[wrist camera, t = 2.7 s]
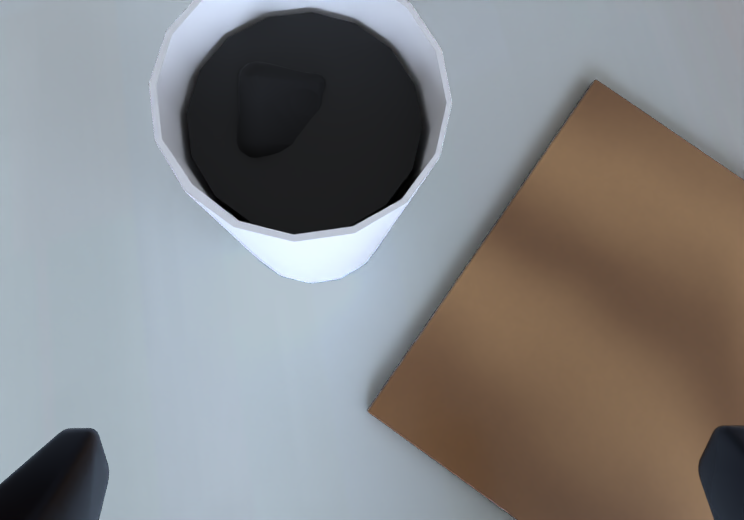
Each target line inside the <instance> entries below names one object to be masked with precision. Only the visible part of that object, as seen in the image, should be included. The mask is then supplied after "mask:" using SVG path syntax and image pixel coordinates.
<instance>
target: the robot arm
mask: <svg viewBox="0 0 744 520" xmlns="http://www.w3.org/2000/svg"><path fill="white" fill-rule="evenodd" d="M698 473H699V478H700V481H701V484H702V487H703V490H704V493H705V495H706V498H707V501H708V504H709V507H710V510H711V513H712V516H713V518H714V520H744V425H721V426H718V427H717V428H715V429H714V431H713V432H712V435H711V437H710V439H709V441H708V443H707V445H706V447H705V449H704V451H703V453H702V455H701V458H700V460H699V464H698ZM108 479H109V467H108V463H107V460H106V456H105V453H104V450H103V447H102V443H101V440H100V437H99V434H98V432H97V431H96V430H94V429H91V428H70V429H65V430H63V431H62V432H60V433H59V434H58V435H57V436H55V437H54V438H53V439H52V440H51V441H50V442H48V443H47V444H46V445H45V446H44V447H43V448H41V449H40V450H39V451H38V452H37V453H36V454H35V455H33V456H32V457H31V458H30V459H29V460H28V461H26V462H25V463H24V464H23V465H22V466H21V467H19V468H18V469H17V470H16V471H15V472H14V473H13V474H11V475H10V476H9V477H8V478H7V479H6V480H4V481H3V482H2V483H1V484H0V520H99V517H100V513H101V509H102V505H103V501H104V497H105V493H106V489H107V485H108Z"/></svg>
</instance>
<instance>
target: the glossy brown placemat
mask: <svg viewBox="0 0 744 520" xmlns="http://www.w3.org/2000/svg"><path fill="white" fill-rule="evenodd" d="M367 411H368V412H369V413H370V414H371V415H373V416H374V417H376V418H377V419H378V420H380V421H381V422H382V423H384V424H385V425H387V426H388V427H389V428H391V429H392V430H393V431H395V432H396V433H398V434H399V435H400V436H402V437H403V438H405V439H406V440H407V441H409V442H410V443H411V444H413V445H414V446H416V447H417V448H418V449H420V450H421V451H422V452H424V453H425V454H427V455H428V456H429V457H431V458H432V459H434V460H435V461H436V462H438V463H439V464H440V465H442V466H443V467H445V468H446V469H447V470H449V471H450V472H451V473H453V474H454V475H456V476H457V477H458V478H460V479H461V480H462V481H464V482H465V483H467V484H468V485H469V486H471V487H472V488H474V489H475V490H476V491H478V492H479V493H480V494H482V495H483V496H485V497H486V498H487V499H489V500H490V501H491V502H493V503H494V504H496V505H497V506H498V507H500V508H501V509H503V510H504V511H505V512H507V513H508V514H509V515H511V516H512V517H514V518H515V519H516V520H714V518H713V516H712V513H711V510H710V507H709V504H708V501H707V498H706V495H705V493H704V490H703V487H702V484H701V481H700V478H699V473H698V464H699V460H700V458H701V455H702V453H703V451H704V449H705V447H706V445H707V443H708V441H709V439H710V437H711V435H712V432H713V431H714V429H715V428H717V427H718V426H721V425H744V180H743V179H742V178H740V177H739V176H737V175H736V174H734V173H733V172H731V171H730V170H728V169H727V168H725V167H724V166H723V165H721V164H720V163H718V162H717V161H715V160H714V159H712V158H711V157H709V156H708V155H706V154H705V153H703V152H702V151H701V150H699V149H698V148H696V147H695V146H693V145H692V144H690V143H689V142H687V141H686V140H684V139H683V138H681V137H680V136H679V135H677V134H676V133H674V132H673V131H671V130H670V129H668V128H667V127H665V126H664V125H662V124H661V123H659V122H658V121H656V120H655V119H654V118H652V117H651V116H649V115H648V114H646V113H645V112H643V111H642V110H640V109H639V108H637V107H636V106H634V105H633V104H632V103H630V102H629V101H627V100H626V99H624V98H623V97H621V96H620V95H618V94H617V93H615V92H614V91H612V90H611V89H610V88H608V87H607V86H605V85H604V84H602V83H601V82H599V81H598V80H594V81H593V82H592V84H591V85H590V86H589V88H588V89H587V91H586V92H585V94H584V95H583V97H582V98H581V100H580V101H579V102H578V104H577V105H576V107H575V108H574V110H573V111H572V113H571V114H570V116H569V117H568V118H567V120H566V121H565V123H564V124H563V126H562V127H561V129H560V130H559V132H558V133H557V134H556V136H555V137H554V139H553V140H552V142H551V143H550V145H549V146H548V148H547V149H546V150H545V152H544V153H543V155H542V156H541V158H540V159H539V161H538V162H537V164H536V165H535V166H534V168H533V169H532V171H531V172H530V174H529V175H528V177H527V178H526V180H525V181H524V182H523V184H522V185H521V187H520V188H519V190H518V191H517V193H516V194H515V196H514V197H513V199H512V200H511V201H510V203H509V204H508V206H507V207H506V209H505V210H504V212H503V213H502V215H501V216H500V217H499V219H498V220H497V222H496V223H495V225H494V226H493V228H492V229H491V231H490V232H489V233H488V235H487V236H486V238H485V239H484V241H483V242H482V244H481V245H480V247H479V248H478V249H477V251H476V252H475V254H474V255H473V257H472V258H471V260H470V261H469V263H468V264H467V265H466V267H465V268H464V270H463V271H462V273H461V274H460V276H459V277H458V279H457V280H456V281H455V283H454V284H453V286H452V287H451V289H450V290H449V292H448V293H447V295H446V296H445V298H444V299H443V300H442V302H441V303H440V305H439V306H438V308H437V309H436V311H435V312H434V314H433V315H432V316H431V318H430V319H429V321H428V322H427V324H426V325H425V327H424V328H423V330H422V331H421V332H420V334H419V335H418V337H417V338H416V340H415V341H414V343H413V344H412V346H411V347H410V348H409V350H408V351H407V353H406V354H405V356H404V357H403V359H402V360H401V362H400V363H399V364H398V366H397V367H396V369H395V370H394V372H393V373H392V375H391V376H390V378H389V379H388V380H387V382H386V383H385V385H384V386H383V388H382V389H381V391H380V392H379V394H378V395H377V397H376V398H375V399H374V401H373V402H372V404H371V405H370V407H369V408H368V410H367Z"/></svg>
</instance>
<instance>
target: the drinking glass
mask: <svg viewBox="0 0 744 520" xmlns="http://www.w3.org/2000/svg"><path fill="white" fill-rule="evenodd" d="M149 92H150V101H151V111H152V120H153V129H154V139H155V142H156V143H157V145H158V147H159V149H160V150H161V152H162V154H163V155H164V157H165V159H166V160H167V162H168V164H169V166H170V167H171V169H172V171H173V172H174V174H175V176H176V177H177V179H178V181H179V183H180V184H181V186H182V188H183V189H184V191H185V192H186V193H187V194H188V195H189V196H190V197H191V198H193V199H194V200H195V201H196V202H197V203H198V204H199V205H200V206H201V207H202V208H203V209H204V210H206V211H207V212H208V213H209V214H210V215H211V216H212V217H213V218H214V219H215V220H216V221H217V222H218V223H220V224H221V225H222V226H223V227H224V228H225V229H226V230H227V231H228V232H229V233H230V234H231V235H233V236H234V237H235V238H236V239H237V240H238V241H239V242H240V243H241V244H242V245H243V246H244V247H246V248H247V249H248V250H249V251H250V252H251V253H252V254H253V255H254V256H255V257H256V258H257V259H259V260H260V261H261V262H263V263H264V264H265V265H267V266H268V267H269V268H271V269H272V270H274V271H275V272H276V273H278V274H279V275H280V276H283V277H287V278H291V279H295V280H299V281H303V282H307V283H316V282H323V281H330V280H336V279H341V278H343V277H344V276H346V275H348V274H349V273H351V272H353V271H354V270H356V269H358V268H359V267H361V266H363V265H364V264H366V263H367V261H368V260H369V259H370V257H371V256H372V255H373V253H374V252H375V251H376V249H377V248H378V247H379V245H380V244H381V242H382V241H383V239H384V238H385V236H386V235H387V234H388V232H389V231H390V229H391V228H392V226H393V225H394V223H395V222H396V221H397V219H398V218H399V216H400V215H401V213H402V212H403V210H404V209H405V208H406V206H407V205H408V203H409V202H410V200H411V199H412V197H413V196H414V194H415V193H416V192H417V190H418V189H419V187H420V186H421V184H422V183H423V181H424V180H425V179H426V177H427V176H428V174H429V173H430V171H431V170H432V168H433V167H434V165H435V164H436V163H437V161H438V160H439V158H440V156H441V151H442V147H443V143H444V138H445V134H446V130H447V125H448V121H449V116H450V112H451V108H452V98H451V93H450V88H449V83H448V78H447V72H446V67H445V62H444V57H443V51H442V49H441V47H440V46H439V44H438V43H437V41H436V40H435V38H434V37H433V35H432V34H431V32H430V31H429V29H428V28H427V26H426V25H425V23H424V22H423V20H422V19H421V17H420V16H419V14H418V13H417V11H416V10H415V8H414V7H413V5H412V4H411V3H410V2H408V1H407V0H193V1H192V2H191V3H190V4H189V5H188V7H187V8H186V9H185V10H184V11H183V12H182V13H181V14H180V16H179V17H178V18H177V19H176V20H175V21H174V22H173V23H172V25H171V26H170V27H169V28H168V29H167V30H166V33H165V36H164V39H163V42H162V45H161V48H160V51H159V54H158V57H157V60H156V63H155V66H154V69H153V72H152V75H151V78H150V81H149Z"/></svg>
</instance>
